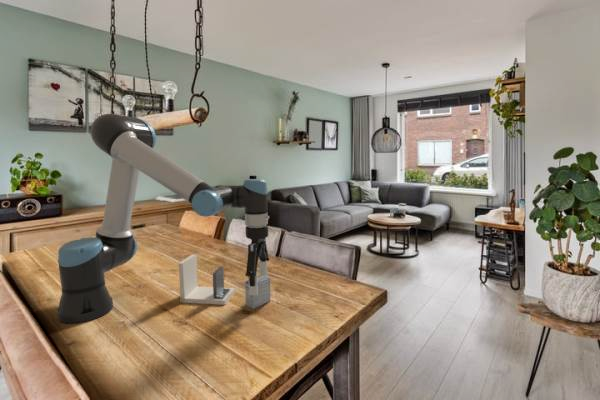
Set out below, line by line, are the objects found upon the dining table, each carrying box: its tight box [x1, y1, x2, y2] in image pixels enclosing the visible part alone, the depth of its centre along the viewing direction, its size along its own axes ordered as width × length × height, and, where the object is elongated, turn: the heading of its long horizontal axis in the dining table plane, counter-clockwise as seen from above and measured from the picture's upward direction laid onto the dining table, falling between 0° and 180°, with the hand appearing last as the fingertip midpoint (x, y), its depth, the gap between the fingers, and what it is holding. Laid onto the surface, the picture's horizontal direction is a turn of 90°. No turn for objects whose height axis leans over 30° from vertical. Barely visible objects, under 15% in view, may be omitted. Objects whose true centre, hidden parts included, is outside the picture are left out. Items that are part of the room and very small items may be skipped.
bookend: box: [212, 266, 230, 299], centre depth 114 cm, size 3×7×9 cm, turn 173°
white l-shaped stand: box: [178, 253, 236, 306], centre depth 115 cm, size 16×10×14 cm, turn 83°
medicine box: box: [244, 275, 271, 310], centre depth 110 cm, size 8×4×9 cm, turn 141°
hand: (258, 286), depth 110 cm, fingers open, 13 cm apart
